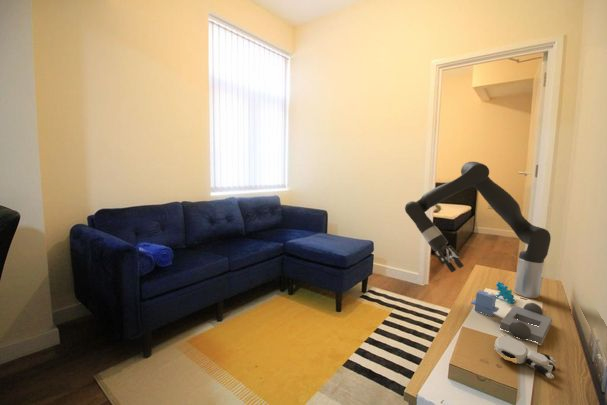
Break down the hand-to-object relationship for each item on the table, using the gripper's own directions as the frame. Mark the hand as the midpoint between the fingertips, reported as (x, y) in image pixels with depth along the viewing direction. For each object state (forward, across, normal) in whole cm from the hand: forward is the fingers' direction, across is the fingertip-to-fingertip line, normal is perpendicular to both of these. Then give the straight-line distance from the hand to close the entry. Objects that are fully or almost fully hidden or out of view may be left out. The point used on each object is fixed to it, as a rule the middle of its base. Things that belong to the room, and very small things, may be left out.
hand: (458, 269), depth 124 cm
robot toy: (+32, -25, -10) cm, 42 cm away
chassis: (+29, 0, -8) cm, 30 cm away
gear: (+21, +20, +1) cm, 29 cm away
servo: (+19, 0, +2) cm, 19 cm away
